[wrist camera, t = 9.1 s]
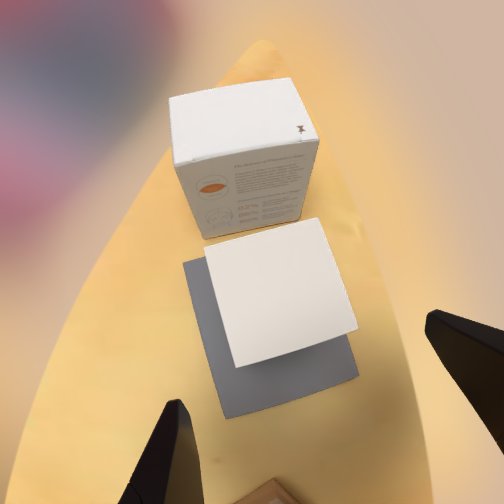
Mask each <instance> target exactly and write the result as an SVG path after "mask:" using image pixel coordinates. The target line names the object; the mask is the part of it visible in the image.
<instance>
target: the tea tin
mask: <svg viewBox="0 0 504 504" xmlns="http://www.w3.org/2000/svg"><path fill="white" fill-rule="evenodd" d="M203 248H204V252H205V256H206V260H207V264H208V268H209V272H210V276H211V279H212V283H213V287H214V291H215V295H216V299H217V302H218V306H219V310H220V313H221V317H222V321H223V324H224V328H225V332H226V335H227V339H228V342H229V346H230V349H231V353H232V356H233V360H234V363H235V367H236V368H238V367H242V366H245V365H249V364H252V363H256V362H260V361H263V360H266V359H270V358H273V357H277V356H280V355H283V354H286V353H290V352H293V351H296V350H299V349H302V348H305V347H308V346H311V345H314V344H317V343H320V342H323V341H326V340H329V339H332V338H335V337H338V336H340V335H343V334H346V333H349V332H351V331H354V330H357V329H359V327H358V324H357V321H356V318H355V315H354V312H353V309H352V307H351V304H350V301H349V298H348V295H347V292H346V289H345V287H344V284H343V281H342V278H341V276H340V273H339V270H338V267H337V265H336V262H335V259H334V257H333V254H332V251H331V249H330V246H329V244H328V241H327V238H326V236H325V233H324V231H323V228H322V226H321V223H320V221H319V218H318V217H315V218H312V219H308V220H304V221H300V222H296V223H292V224H289V225H285V226H281V227H277V228H273V229H270V230H266V231H262V232H258V233H255V234H251V235H247V236H243V237H240V238H236V239H232V240H229V241H225V242H221V243H218V244H214V245H210V246H207V247H203Z"/></svg>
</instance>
